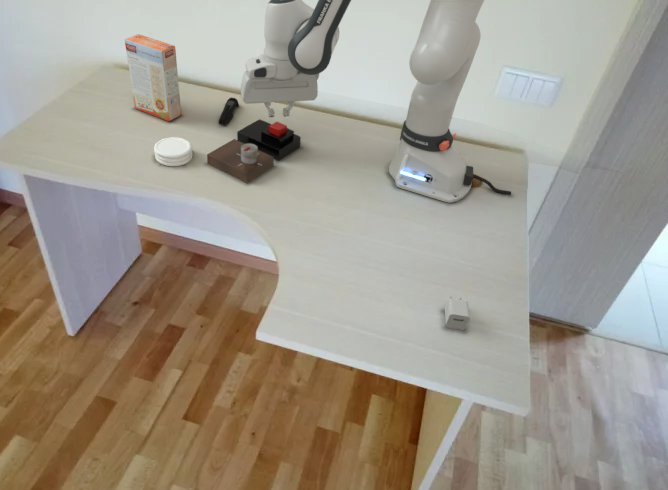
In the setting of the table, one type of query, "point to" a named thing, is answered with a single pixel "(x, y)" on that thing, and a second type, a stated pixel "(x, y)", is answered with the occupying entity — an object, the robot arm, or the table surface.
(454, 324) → the usb wall charger
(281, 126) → the button
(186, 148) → the white round disc stack
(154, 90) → the cracker box
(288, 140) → the red push button box
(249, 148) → the dial
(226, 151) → the dial panel
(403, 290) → the table surface
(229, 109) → the electric trimmer
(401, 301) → the table surface
